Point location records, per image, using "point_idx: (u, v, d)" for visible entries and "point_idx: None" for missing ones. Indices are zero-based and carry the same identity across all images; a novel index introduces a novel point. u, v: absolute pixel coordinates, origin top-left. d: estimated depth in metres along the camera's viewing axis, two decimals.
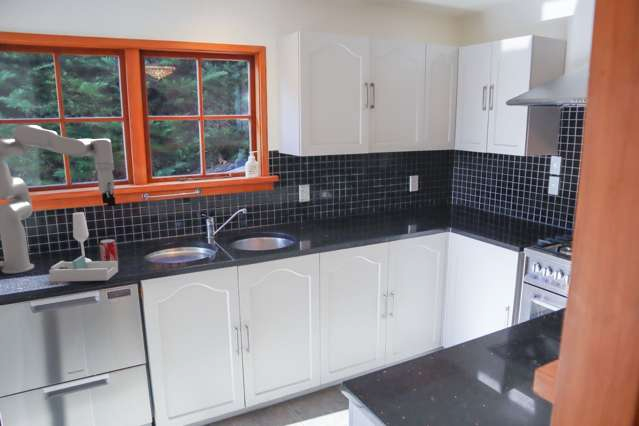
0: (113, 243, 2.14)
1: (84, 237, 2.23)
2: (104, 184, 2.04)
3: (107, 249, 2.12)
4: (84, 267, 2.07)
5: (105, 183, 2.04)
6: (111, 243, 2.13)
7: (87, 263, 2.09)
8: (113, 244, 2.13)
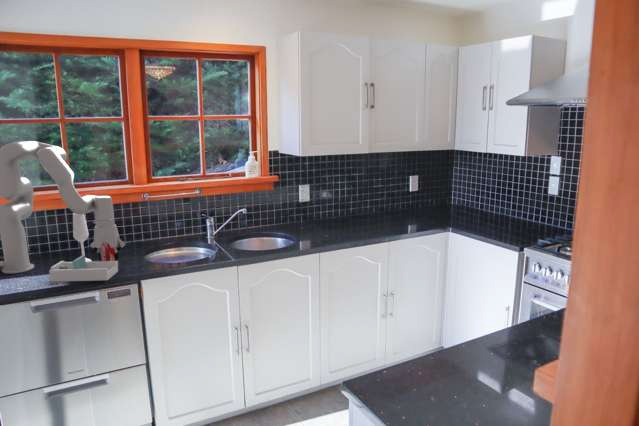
0: None
1: (84, 237, 2.23)
2: (116, 239, 2.12)
3: (107, 249, 2.12)
4: (84, 267, 2.07)
5: (116, 237, 2.13)
6: None
7: (87, 263, 2.09)
8: None
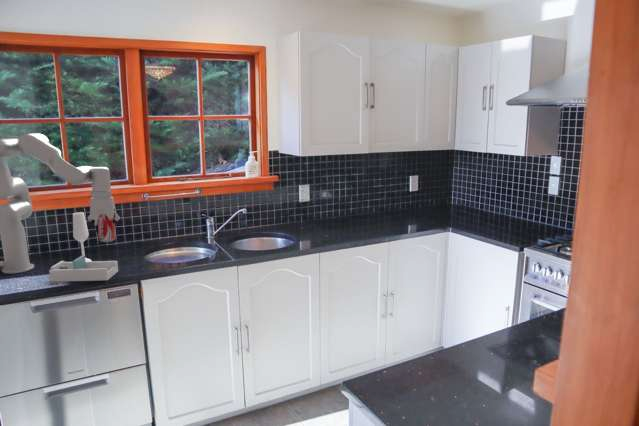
0: None
1: (84, 237, 2.23)
2: (112, 211, 2.10)
3: (104, 221, 2.09)
4: (84, 267, 2.07)
5: (113, 210, 2.10)
6: None
7: (87, 263, 2.09)
8: None
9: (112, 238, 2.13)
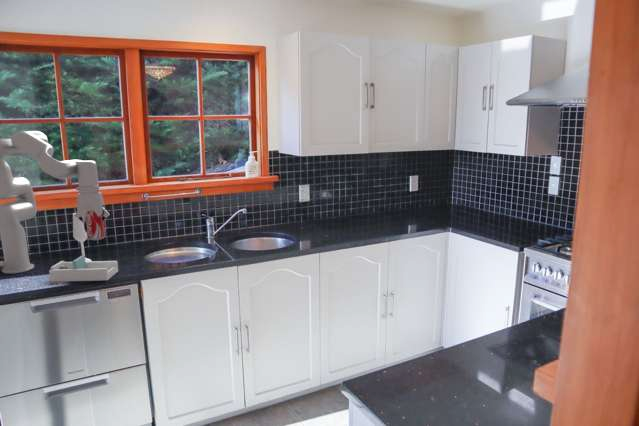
0: None
1: (84, 237, 2.23)
2: (101, 207, 1.97)
3: (93, 218, 1.97)
4: (84, 267, 2.07)
5: (101, 206, 1.98)
6: None
7: (87, 263, 2.09)
8: None
9: (102, 236, 2.00)
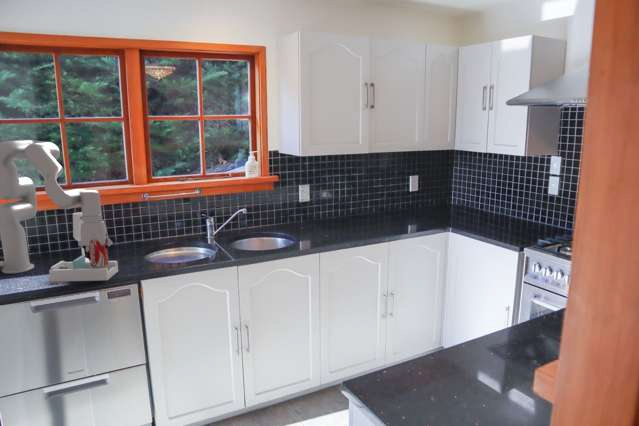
0: None
1: None
2: (104, 236, 2.00)
3: (96, 247, 1.99)
4: (84, 267, 2.07)
5: (104, 235, 2.00)
6: None
7: (87, 263, 2.09)
8: None
9: (105, 264, 2.03)
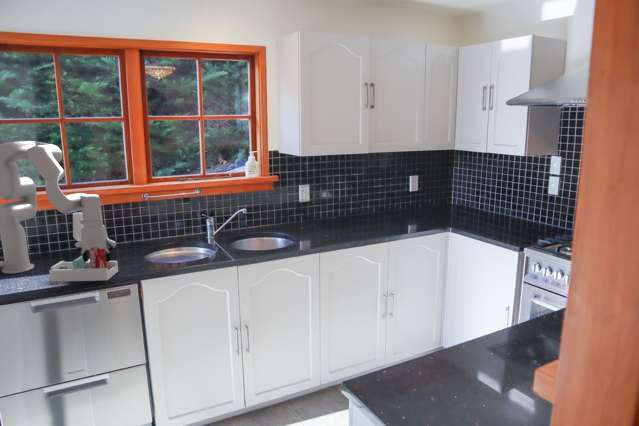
0: None
1: None
2: (104, 240, 2.00)
3: (96, 255, 2.00)
4: (84, 267, 2.07)
5: (105, 239, 2.01)
6: None
7: (87, 263, 2.09)
8: (103, 249, 2.01)
9: None
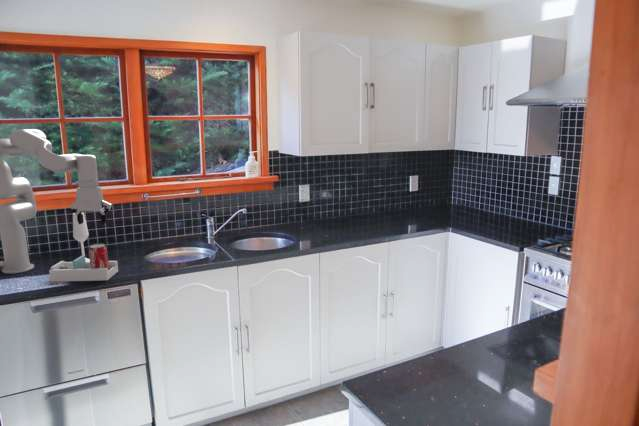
0: (103, 248, 2.01)
1: (84, 237, 2.23)
2: (100, 201, 1.97)
3: (96, 255, 2.00)
4: (84, 267, 2.07)
5: (100, 200, 1.97)
6: (101, 248, 2.01)
7: (87, 263, 2.09)
8: (103, 249, 2.01)
9: None
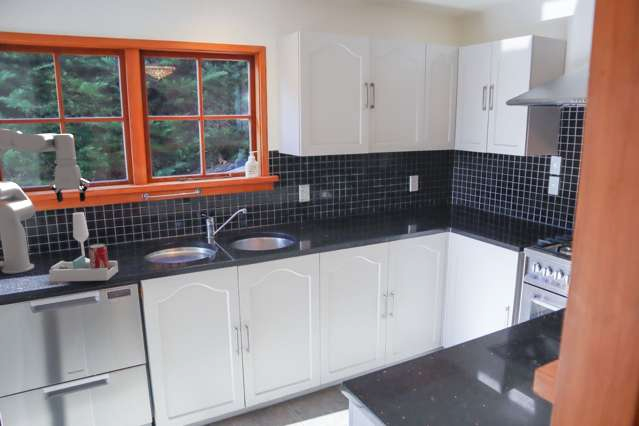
0: (103, 248, 2.01)
1: (84, 237, 2.23)
2: (78, 179, 2.03)
3: (96, 255, 2.00)
4: (84, 267, 2.07)
5: (78, 178, 2.03)
6: (101, 248, 2.01)
7: (87, 263, 2.09)
8: (103, 249, 2.01)
9: None
